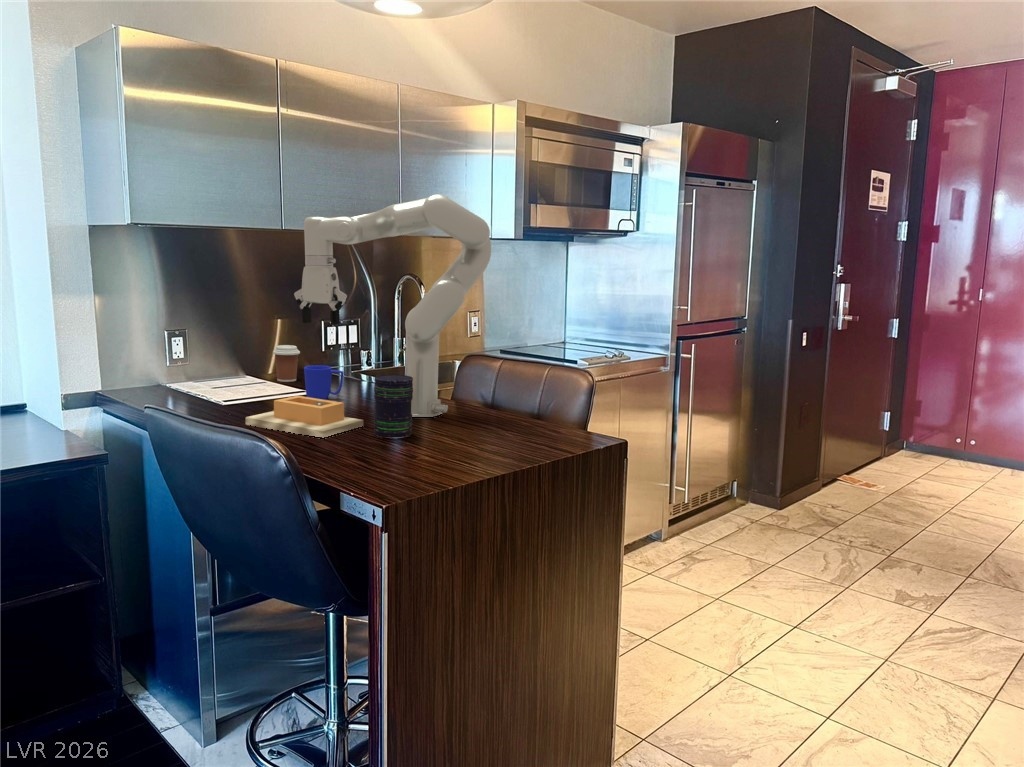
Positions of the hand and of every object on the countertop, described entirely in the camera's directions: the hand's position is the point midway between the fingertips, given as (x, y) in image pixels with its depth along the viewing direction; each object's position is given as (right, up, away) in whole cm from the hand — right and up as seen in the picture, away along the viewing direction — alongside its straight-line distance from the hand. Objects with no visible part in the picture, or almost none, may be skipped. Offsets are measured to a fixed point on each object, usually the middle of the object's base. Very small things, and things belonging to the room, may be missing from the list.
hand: (320, 323), depth 213 cm
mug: (-5, -22, +23) cm, 32 cm away
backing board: (-1, -28, -13) cm, 31 cm away
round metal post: (+3, -26, -14) cm, 30 cm away
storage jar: (+23, -30, -18) cm, 42 cm away
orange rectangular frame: (0, -26, -13) cm, 29 cm away
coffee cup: (-25, -16, +53) cm, 61 cm away
